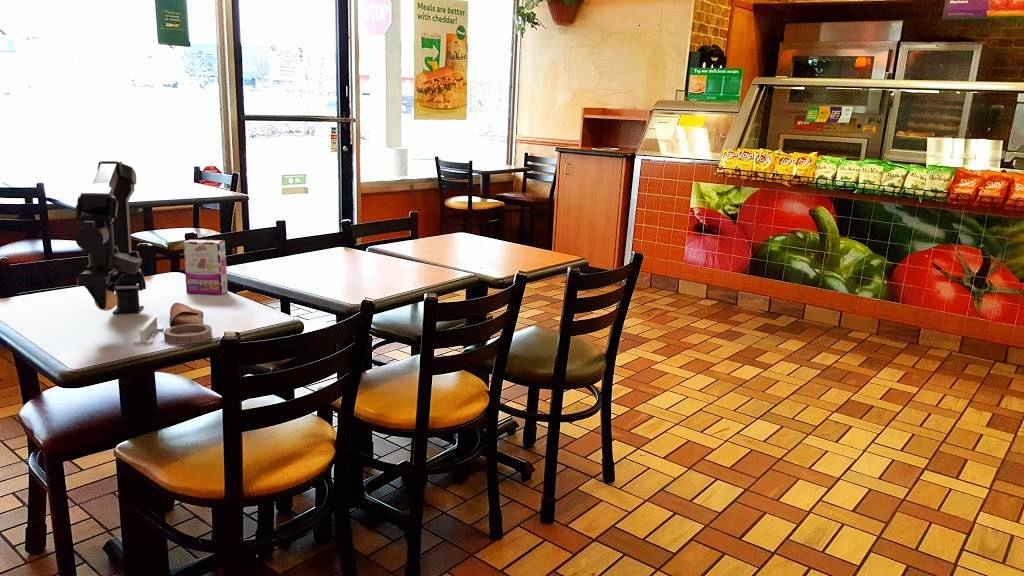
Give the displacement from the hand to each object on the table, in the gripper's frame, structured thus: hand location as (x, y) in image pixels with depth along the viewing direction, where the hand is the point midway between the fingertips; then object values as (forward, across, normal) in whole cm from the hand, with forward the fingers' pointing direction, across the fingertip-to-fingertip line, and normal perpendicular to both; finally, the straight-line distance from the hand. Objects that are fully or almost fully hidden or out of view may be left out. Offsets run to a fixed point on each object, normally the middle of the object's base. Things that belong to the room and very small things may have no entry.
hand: (106, 306), depth 186 cm
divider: (+8, -1, -10) cm, 12 cm away
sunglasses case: (+8, +11, -16) cm, 21 cm away
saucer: (+8, -2, -19) cm, 21 cm away
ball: (+1, 0, 0) cm, 1 cm away
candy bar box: (+8, +44, -15) cm, 47 cm away
